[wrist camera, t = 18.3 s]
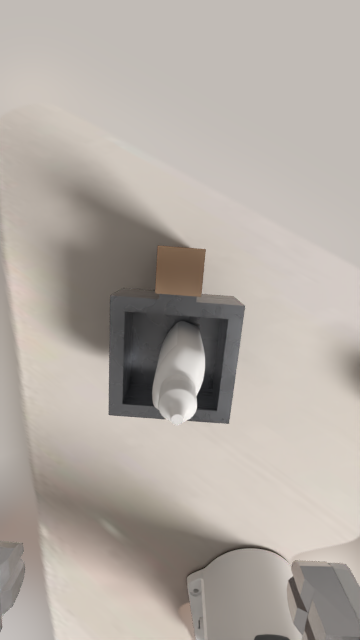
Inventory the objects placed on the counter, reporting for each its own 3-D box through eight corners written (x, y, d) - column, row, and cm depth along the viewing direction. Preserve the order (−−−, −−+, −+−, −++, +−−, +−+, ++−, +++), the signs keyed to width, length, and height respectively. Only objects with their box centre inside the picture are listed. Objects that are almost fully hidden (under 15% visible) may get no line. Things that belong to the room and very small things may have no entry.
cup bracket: (216, 378, 33) (237, 456, 20) (128, 372, 33) (94, 446, 20) (231, 254, 29) (268, 254, 17) (132, 246, 29) (94, 240, 16)
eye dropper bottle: (143, 347, 27) (113, 420, 15) (187, 313, 26) (192, 362, 14) (171, 379, 27) (163, 471, 16) (214, 346, 26) (240, 418, 15)
